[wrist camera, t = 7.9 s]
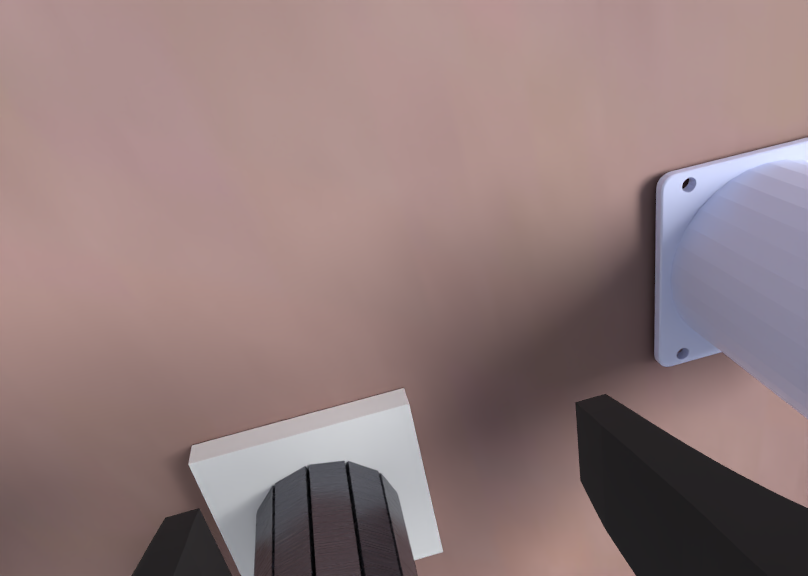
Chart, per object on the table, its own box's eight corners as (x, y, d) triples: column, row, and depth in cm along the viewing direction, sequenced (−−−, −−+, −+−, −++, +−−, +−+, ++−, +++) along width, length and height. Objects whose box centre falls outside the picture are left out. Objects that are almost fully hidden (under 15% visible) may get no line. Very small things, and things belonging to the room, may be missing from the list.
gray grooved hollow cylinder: (398, 454, 22) (428, 565, 18) (397, 556, 25) (423, 676, 20) (251, 471, 21) (244, 593, 17) (263, 575, 24) (260, 707, 19)
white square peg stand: (404, 388, 22) (434, 482, 18) (437, 533, 26) (470, 642, 21) (192, 445, 22) (169, 559, 17) (256, 586, 25) (252, 710, 21)
